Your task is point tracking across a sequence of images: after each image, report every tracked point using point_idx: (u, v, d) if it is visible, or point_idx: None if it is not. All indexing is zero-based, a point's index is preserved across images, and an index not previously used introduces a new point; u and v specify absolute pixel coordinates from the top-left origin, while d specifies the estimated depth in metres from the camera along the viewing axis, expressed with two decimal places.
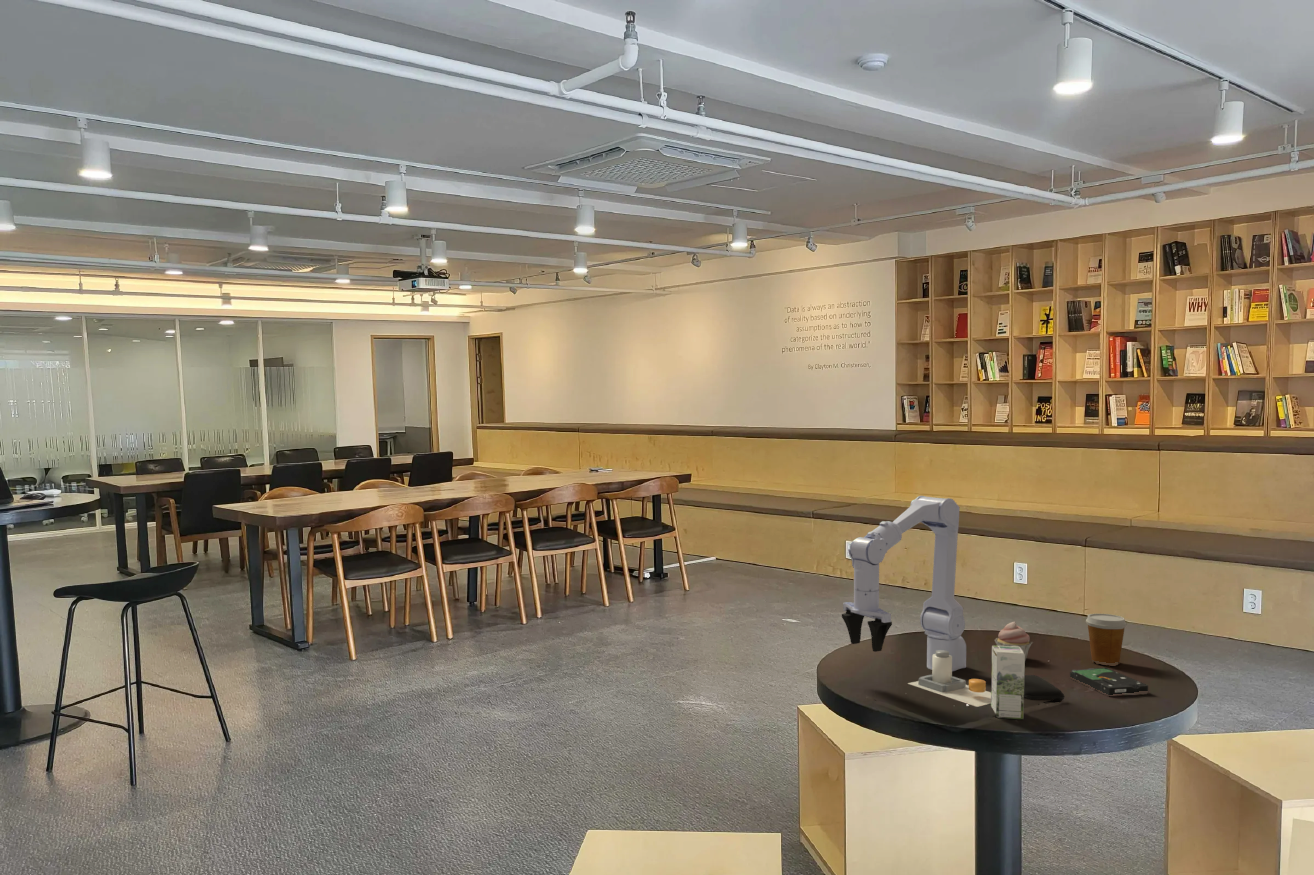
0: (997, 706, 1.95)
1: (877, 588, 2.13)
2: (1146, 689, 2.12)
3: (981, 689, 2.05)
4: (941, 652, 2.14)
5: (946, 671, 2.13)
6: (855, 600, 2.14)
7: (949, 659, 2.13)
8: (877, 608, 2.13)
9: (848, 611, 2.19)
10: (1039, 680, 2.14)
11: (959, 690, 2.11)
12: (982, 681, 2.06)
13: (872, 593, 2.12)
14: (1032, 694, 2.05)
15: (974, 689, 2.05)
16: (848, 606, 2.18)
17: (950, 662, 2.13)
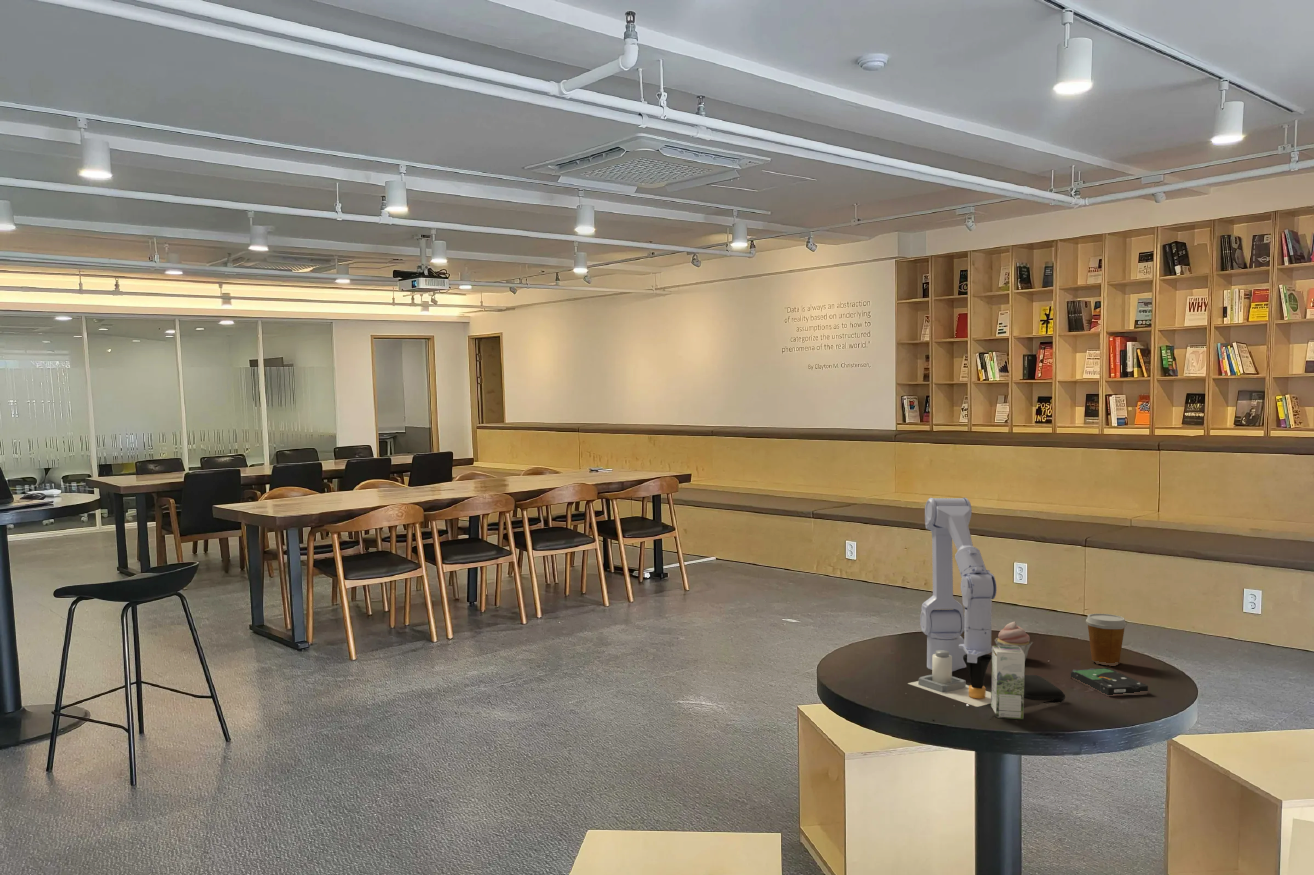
0: (997, 706, 1.95)
1: None
2: (1146, 689, 2.12)
3: (981, 695, 2.05)
4: (941, 652, 2.14)
5: (946, 671, 2.13)
6: None
7: (949, 659, 2.13)
8: (980, 648, 2.03)
9: None
10: (1040, 680, 2.14)
11: (959, 690, 2.11)
12: (982, 687, 2.07)
13: (972, 631, 2.04)
14: (1033, 694, 2.05)
15: (974, 695, 2.05)
16: None
17: (950, 662, 2.13)
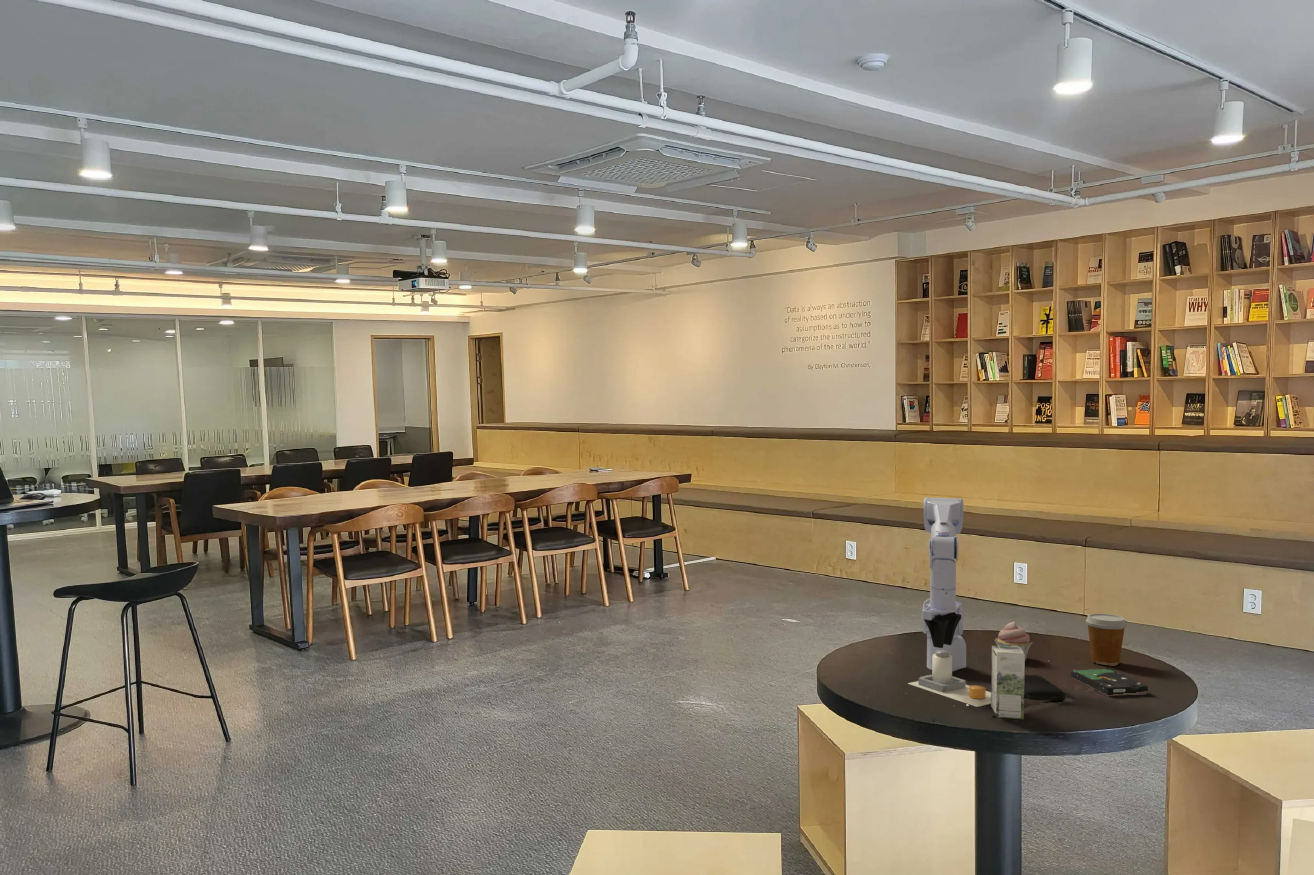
0: (997, 706, 1.95)
1: None
2: (1146, 689, 2.11)
3: (981, 696, 2.05)
4: (941, 652, 2.14)
5: (946, 671, 2.13)
6: None
7: (949, 659, 2.13)
8: (941, 607, 2.12)
9: None
10: (1041, 680, 2.14)
11: (959, 690, 2.11)
12: (982, 687, 2.07)
13: (934, 591, 2.13)
14: (1033, 694, 2.06)
15: (974, 696, 2.05)
16: None
17: (950, 662, 2.13)
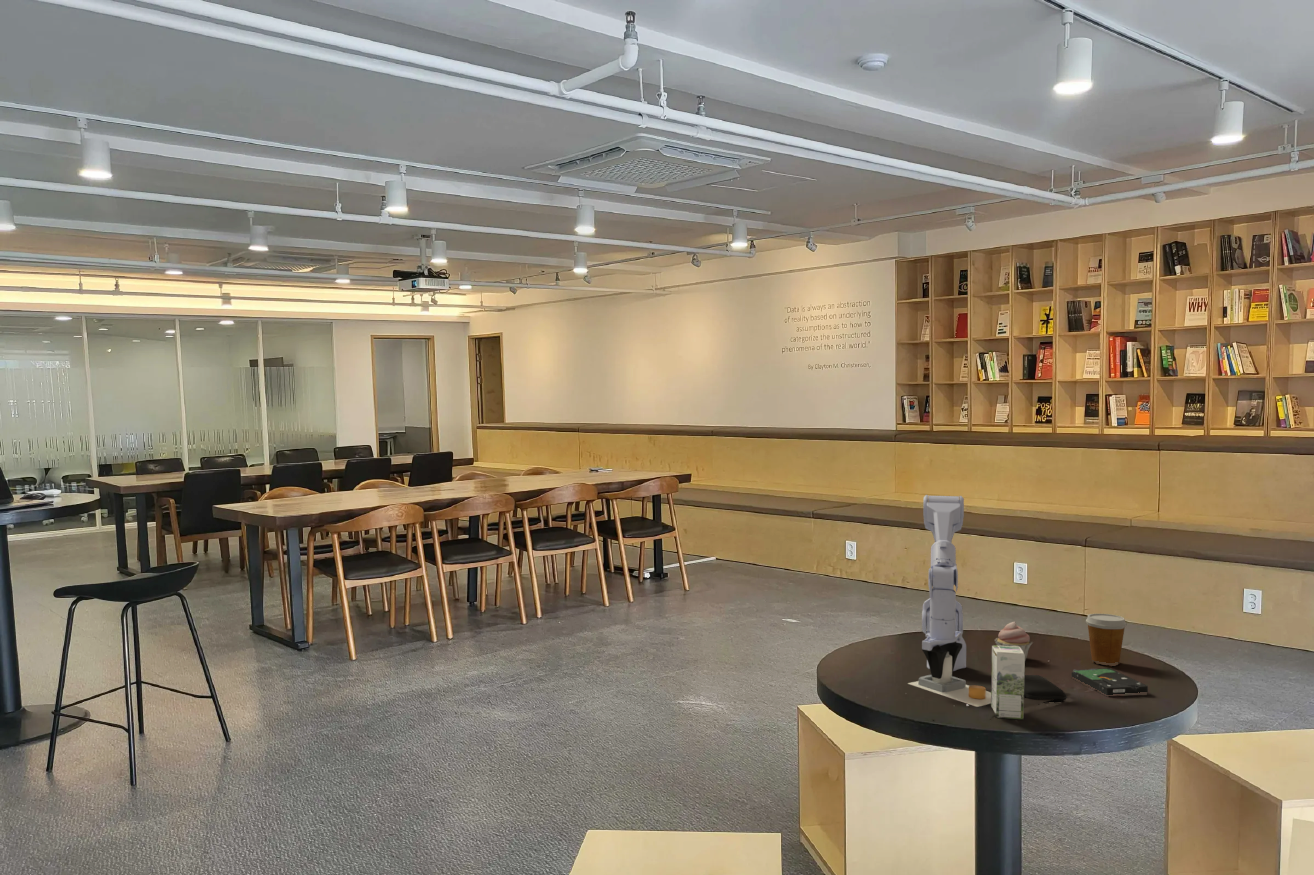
0: (997, 706, 1.95)
1: None
2: (1146, 690, 2.11)
3: (981, 696, 2.05)
4: None
5: (946, 671, 2.13)
6: None
7: (949, 659, 2.13)
8: (940, 637, 2.12)
9: None
10: (1042, 680, 2.14)
11: (959, 690, 2.11)
12: (982, 687, 2.07)
13: (934, 621, 2.13)
14: (1034, 694, 2.06)
15: (974, 696, 2.05)
16: None
17: (950, 662, 2.13)
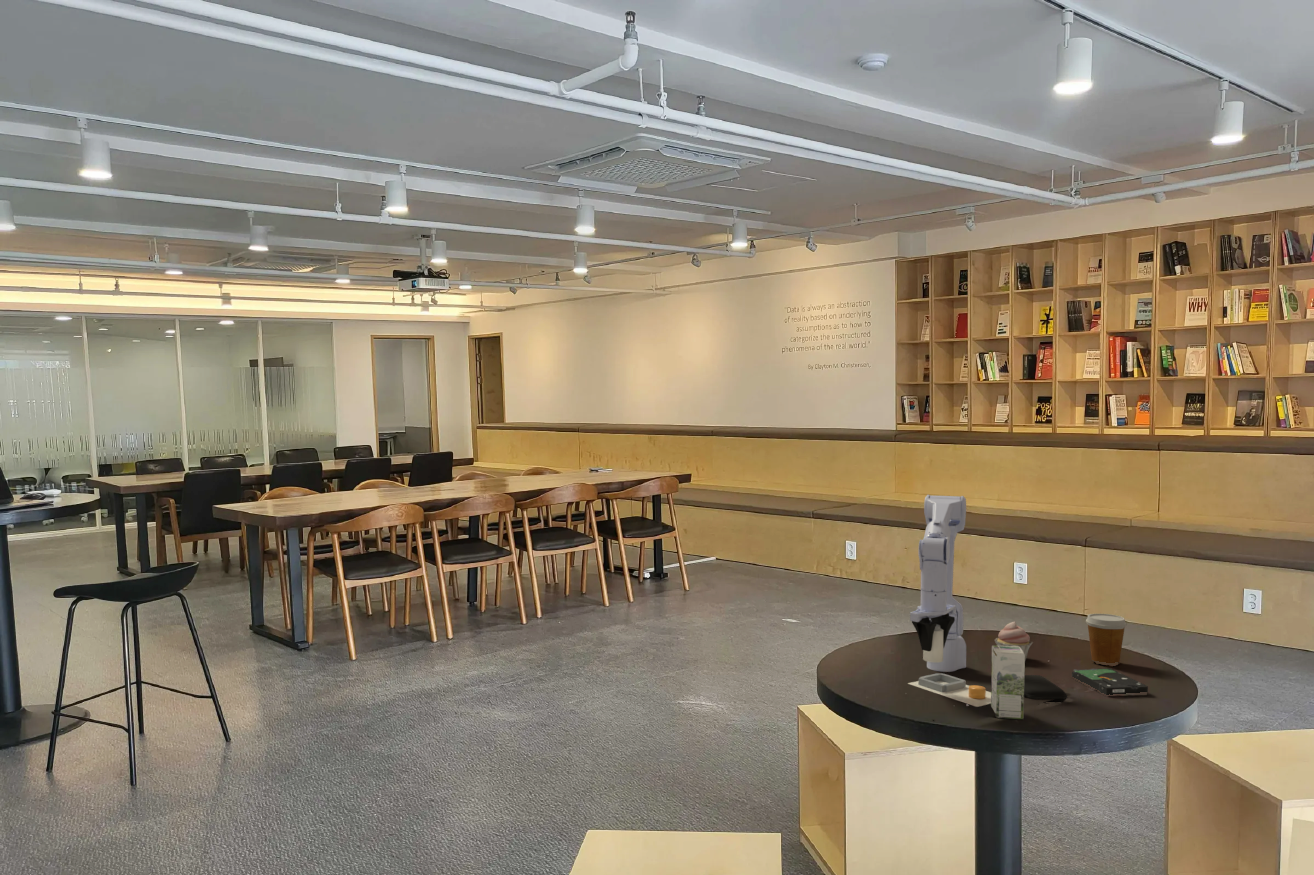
0: (997, 706, 1.95)
1: None
2: (1146, 690, 2.11)
3: (981, 696, 2.05)
4: None
5: (936, 645, 2.09)
6: None
7: (940, 633, 2.09)
8: (930, 609, 2.09)
9: None
10: (1043, 680, 2.14)
11: (959, 690, 2.11)
12: (982, 687, 2.07)
13: (923, 592, 2.10)
14: (1034, 693, 2.06)
15: (974, 696, 2.05)
16: None
17: (941, 636, 2.10)
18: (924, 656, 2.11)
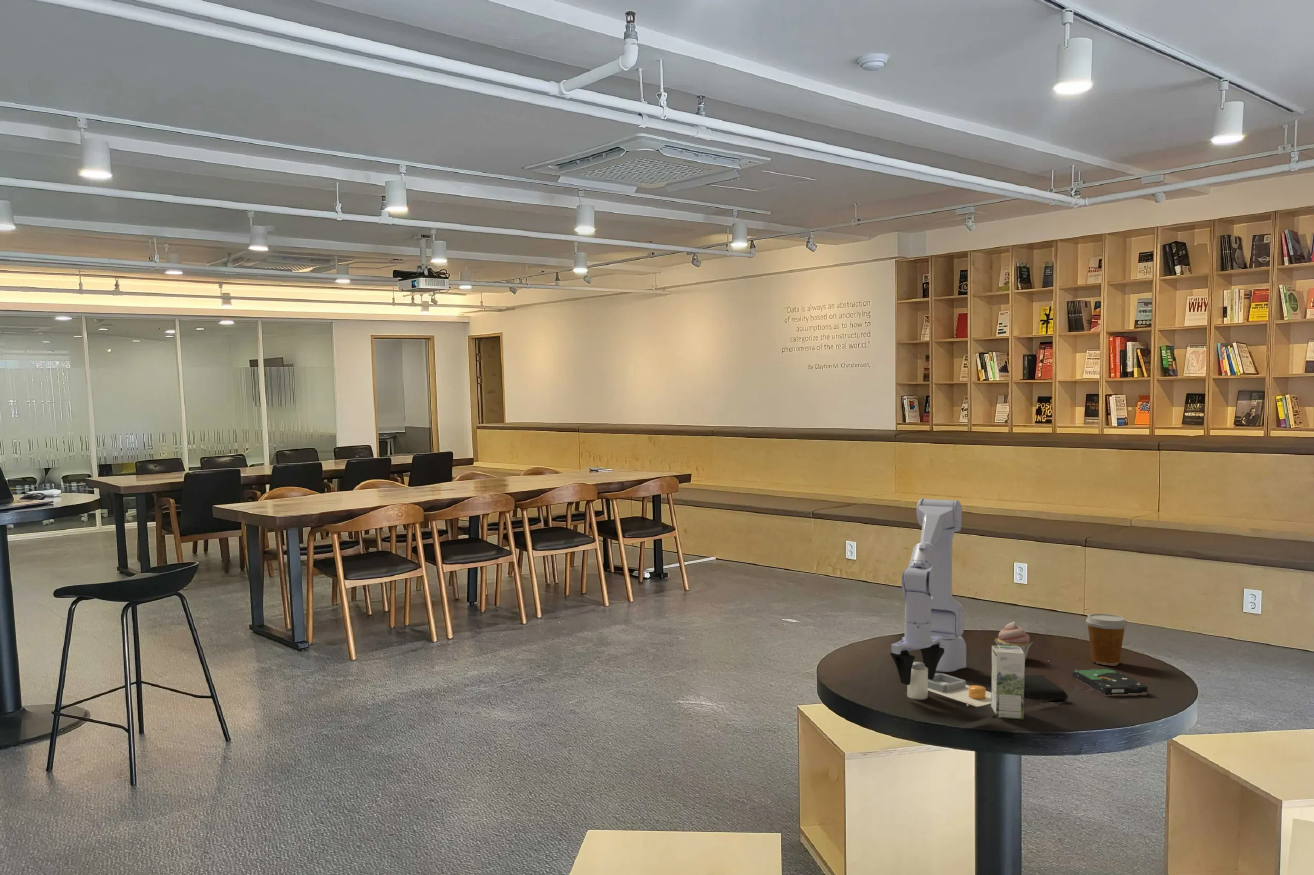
0: (997, 706, 1.95)
1: None
2: (1145, 690, 2.11)
3: (981, 696, 2.05)
4: (916, 664, 2.06)
5: (919, 684, 2.05)
6: None
7: (923, 672, 2.05)
8: (913, 641, 2.04)
9: None
10: (1044, 680, 2.14)
11: (959, 690, 2.11)
12: (982, 687, 2.07)
13: (907, 624, 2.06)
14: (1035, 694, 2.06)
15: (974, 696, 2.05)
16: None
17: (924, 675, 2.05)
18: (908, 695, 2.07)
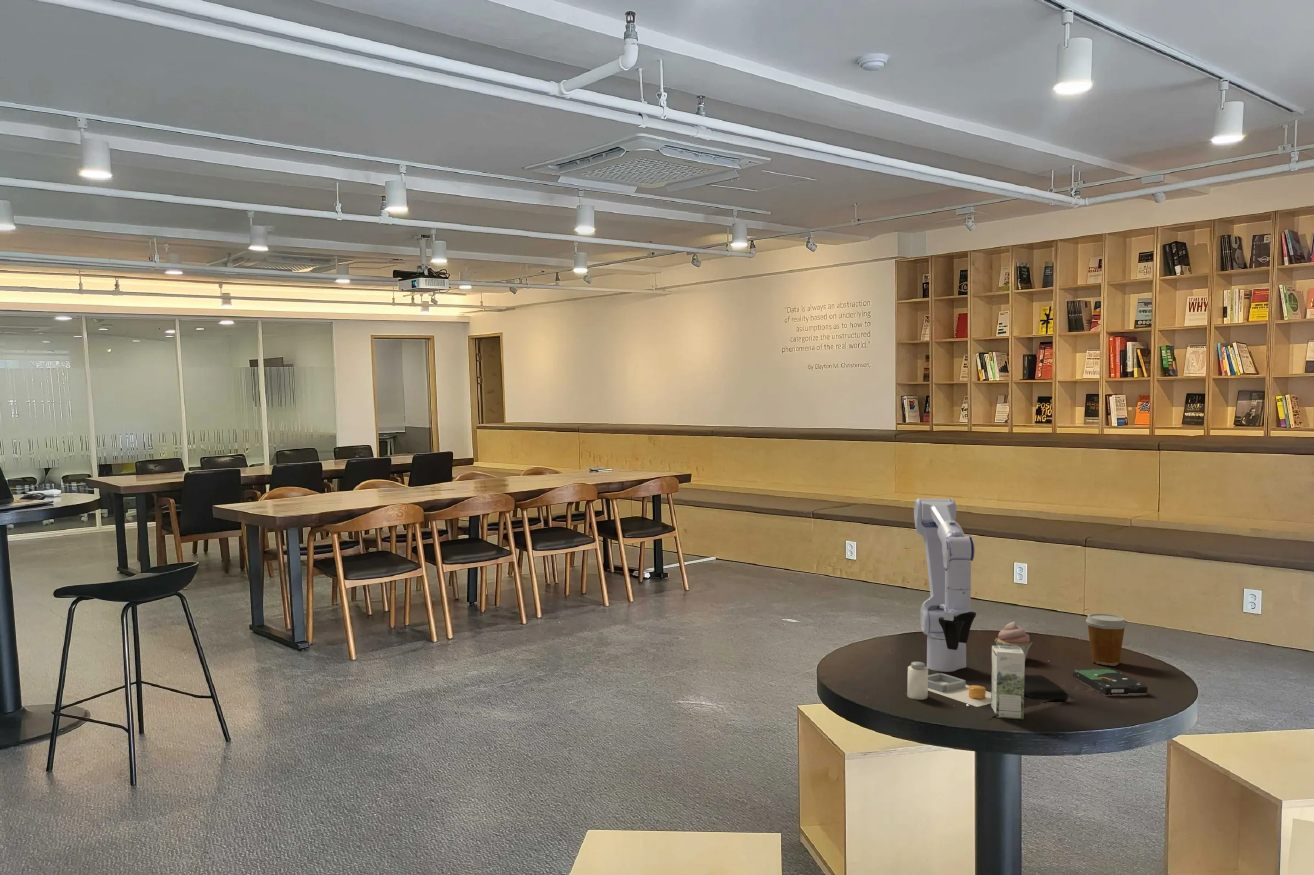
0: (997, 706, 1.95)
1: None
2: (1145, 690, 2.11)
3: (981, 696, 2.05)
4: (916, 664, 2.06)
5: (920, 684, 2.05)
6: None
7: (924, 672, 2.05)
8: (958, 607, 2.12)
9: None
10: (1045, 680, 2.14)
11: (959, 690, 2.11)
12: (982, 687, 2.07)
13: (951, 591, 2.13)
14: (1035, 693, 2.06)
15: (974, 696, 2.05)
16: None
17: (925, 675, 2.05)
18: (908, 695, 2.07)
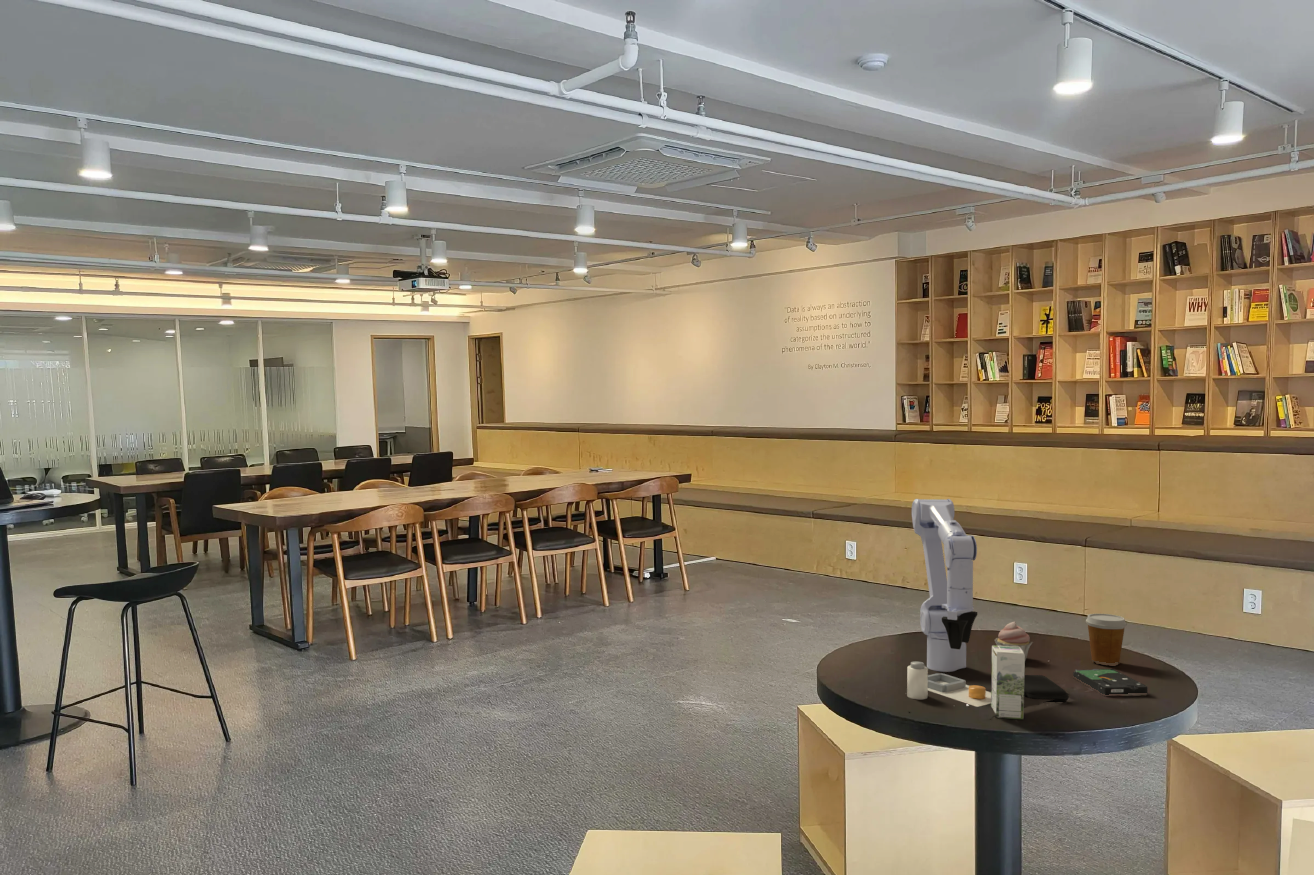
0: (997, 706, 1.95)
1: None
2: (1145, 690, 2.11)
3: (981, 696, 2.05)
4: (916, 663, 2.07)
5: (919, 683, 2.05)
6: None
7: (923, 671, 2.05)
8: (961, 607, 2.12)
9: None
10: (1045, 680, 2.14)
11: (959, 690, 2.11)
12: (982, 687, 2.07)
13: (954, 590, 2.13)
14: (1035, 693, 2.06)
15: (974, 696, 2.05)
16: None
17: (924, 674, 2.05)
18: (908, 694, 2.07)
